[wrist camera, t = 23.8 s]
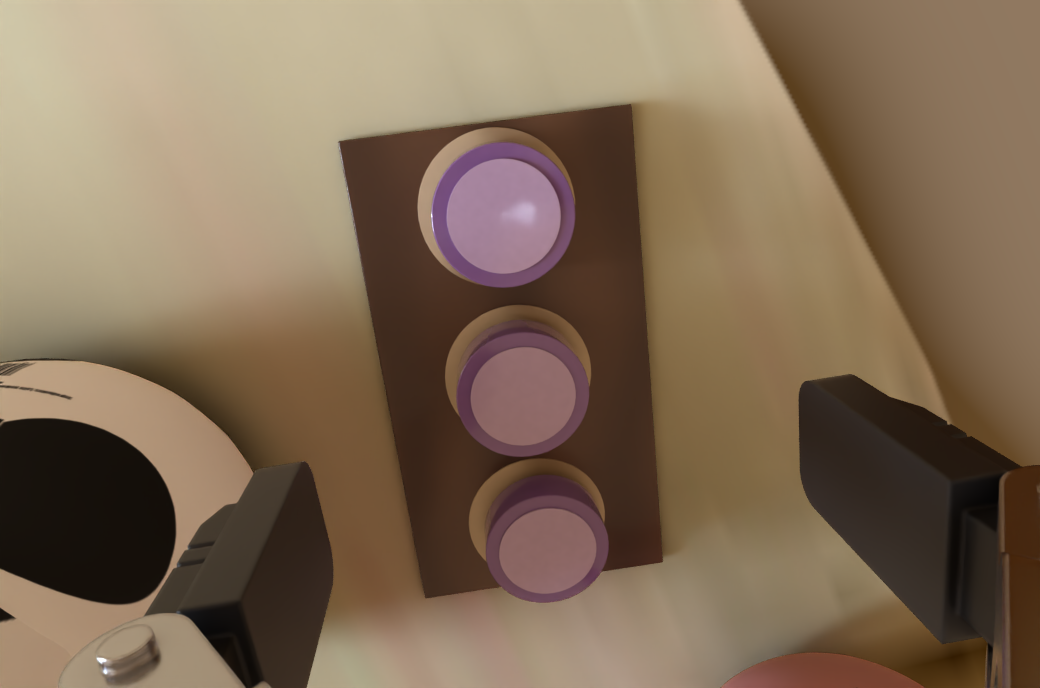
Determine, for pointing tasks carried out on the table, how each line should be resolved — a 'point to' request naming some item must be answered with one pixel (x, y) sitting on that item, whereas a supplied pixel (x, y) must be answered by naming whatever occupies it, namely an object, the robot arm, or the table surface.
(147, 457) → the white black spotted canister
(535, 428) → the dish bottom
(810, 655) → the pink piggy bank
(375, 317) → the brown board with circles
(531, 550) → the dish top
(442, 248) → the purple stepped cylinder
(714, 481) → the table surface
